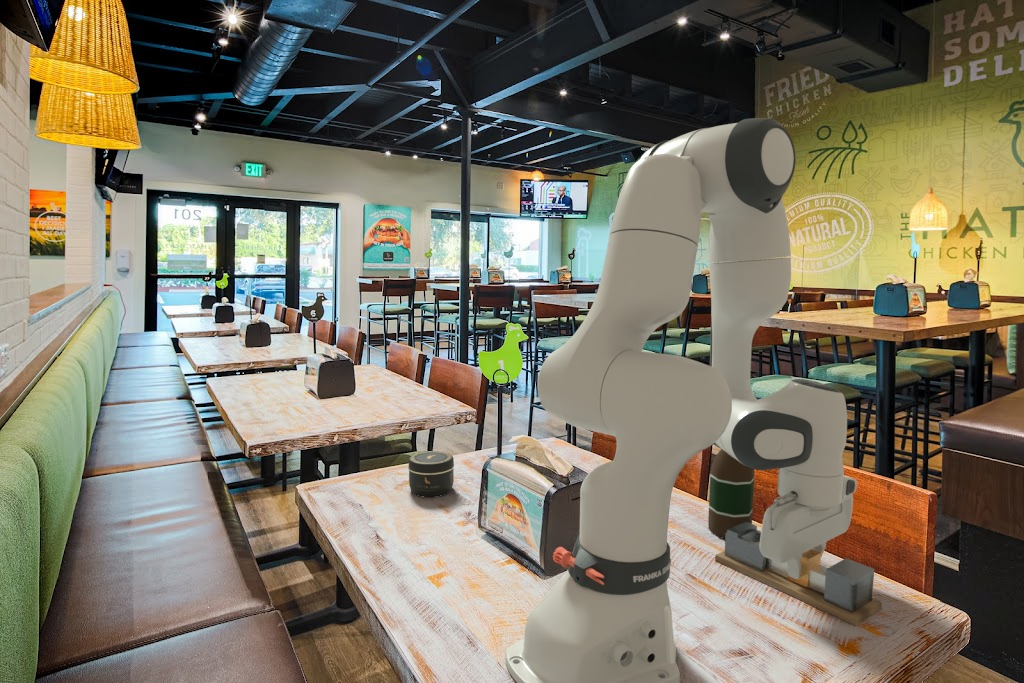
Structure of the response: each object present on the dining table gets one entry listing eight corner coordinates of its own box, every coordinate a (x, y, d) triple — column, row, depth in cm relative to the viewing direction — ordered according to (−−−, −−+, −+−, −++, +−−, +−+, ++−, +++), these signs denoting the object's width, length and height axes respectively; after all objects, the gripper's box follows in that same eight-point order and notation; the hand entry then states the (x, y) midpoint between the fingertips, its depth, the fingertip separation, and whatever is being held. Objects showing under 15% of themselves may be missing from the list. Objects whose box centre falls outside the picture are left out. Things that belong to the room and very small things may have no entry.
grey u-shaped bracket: (762, 572, 97) (763, 544, 96) (724, 555, 102) (725, 528, 102) (781, 563, 100) (782, 535, 99) (743, 547, 105) (744, 521, 105)
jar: (405, 498, 129) (404, 464, 129) (412, 482, 139) (412, 450, 138) (451, 498, 130) (451, 464, 129) (455, 482, 139) (455, 450, 139)
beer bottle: (755, 543, 109) (762, 412, 106) (710, 539, 111) (716, 410, 108) (747, 525, 117) (754, 403, 114) (705, 521, 118) (711, 401, 115)
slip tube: (834, 599, 88) (836, 569, 88) (748, 561, 100) (749, 535, 99) (845, 592, 90) (847, 563, 90) (760, 556, 102) (761, 529, 101)
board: (855, 625, 84) (856, 618, 84) (715, 560, 103) (715, 554, 102) (881, 608, 88) (882, 601, 88) (742, 548, 107) (742, 543, 107)
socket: (852, 613, 85) (854, 580, 84) (823, 600, 88) (826, 568, 88) (871, 600, 88) (874, 568, 88) (843, 588, 92) (846, 558, 91)
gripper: (792, 507, 83) (786, 602, 85) (862, 478, 95) (856, 562, 97) (751, 494, 89) (746, 583, 90) (822, 468, 100) (817, 547, 102)
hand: (803, 572), depth 94 cm, fingers closed on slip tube, 3 cm apart
